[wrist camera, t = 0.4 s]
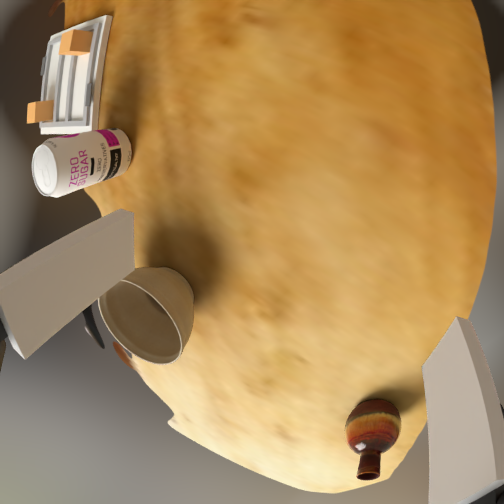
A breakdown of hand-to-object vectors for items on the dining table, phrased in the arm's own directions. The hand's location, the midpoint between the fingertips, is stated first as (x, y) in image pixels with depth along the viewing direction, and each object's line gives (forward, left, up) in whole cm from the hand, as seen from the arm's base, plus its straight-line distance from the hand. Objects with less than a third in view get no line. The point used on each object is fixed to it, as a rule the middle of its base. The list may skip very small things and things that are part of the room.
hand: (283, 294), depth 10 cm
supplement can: (+2, -34, -28) cm, 44 cm away
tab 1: (-6, -53, -26) cm, 59 cm away
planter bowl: (+25, -22, -28) cm, 43 cm away
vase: (+40, +21, -28) cm, 53 cm away
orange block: (-18, -43, -26) cm, 53 cm away
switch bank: (-12, -48, -27) cm, 56 cm away
